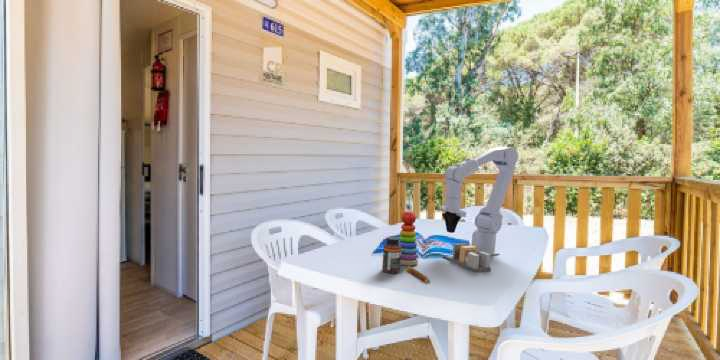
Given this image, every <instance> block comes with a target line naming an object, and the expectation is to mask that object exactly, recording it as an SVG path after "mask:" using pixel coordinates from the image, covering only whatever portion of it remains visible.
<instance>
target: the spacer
mask: <svg viewBox="0 0 720 360" xmlns="http://www.w3.org/2000/svg"><path fill="white" fill-rule="evenodd" d="M466 251H471V252H474V253H476V254H478V253H477V247H475V246H471V245H467V246H460V258H459V261H460V262H463V263H466Z"/></svg>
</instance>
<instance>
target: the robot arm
mask: <svg viewBox="0 0 720 360" xmlns="http://www.w3.org/2000/svg"><path fill="white" fill-rule="evenodd" d="M518 159H519V154H518V151H517V149H516V148H515V147H513V146H493V147H490V148H488V150H487V151H485V152H484V153H482V154H480V155H478V156H476V157H475V158H473V157H466V158H464V160H463V161H461V162H457V163H455V165H454V166H453V165H451V166H448V167H447V168H446V169H445V171H444V172H443V178H444V179H445V185H446V186H445V200H444V205H439V207H438V209H439V211H440V212H444V213H441V214H442V219H443V220H444V223H445V229H446V232H447V233H451V234H452V233H453V234H454V233H455V231H456V229H457V225H458V224H459V222H460V220H461V219H462V218H466V217H467V211H464V210H463V209H461V202H462V201H461V199H462V187H463V186H462V185H463V182H464V181H465V179H466V178H467V177H468V176H470V175H472V174H474V173H475V172H477V171H478V169H479V167H480V166H483V165H485V164H487V163H490V162H493V164H494V165H495V167H496V168H497V169H498V171H499V172H498V174H497V175H496V176H497V177H496V179H495V182H494V185H493V187H492V191H491V192H490V194H489V197H488V200H487V202H486V204H485V205H486V206H485V207H481V209H480V210H479V212H478V214H477V215H476V216H475V217H474V225H475V227H476V229H475V230H474V231H473V233H472V235H471V245H470V246H475V247H477V254H479V252H485V253H488V254H491V256H493V255H494V256H495V255H496V256H497V255H500V254H501V253H500V252H498V251H496V243H497V234H498V233H499V231H500V230H501V228H502V223H503V218H504V217H503V214H502V213H501V211H500V210H501V208H502V205H503V203H504V200H505V197H506V195H507V192H508V189H509V188H510V184H511V181H512V179H513V176H514V174H515V168H516V166H517V165H516V164H517V162H518Z"/></svg>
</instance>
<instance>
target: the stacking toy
mask: <svg viewBox="0 0 720 360" xmlns="http://www.w3.org/2000/svg"><path fill="white" fill-rule="evenodd" d="M416 219H417V216H416V214H415V213H414V212H413V211H411V210H405V211H404V212H403V213H402V214H401V221H402V222H401V223H402V225H401V226H400V227H401V230H400V231H399V234H400V236H399V237H398V238H399V242H398V243H399V244H400V245H401V264H400V266H401V265H403V266H410V267H412V266H415V265H417V264H418V263H419V259H418V256H419V255H418V253H417V252H418V248H417V246H418V243H417V236H416V233H417V232H416V231H415V230H416V225H415V224H414V223H415V222H416Z"/></svg>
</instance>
